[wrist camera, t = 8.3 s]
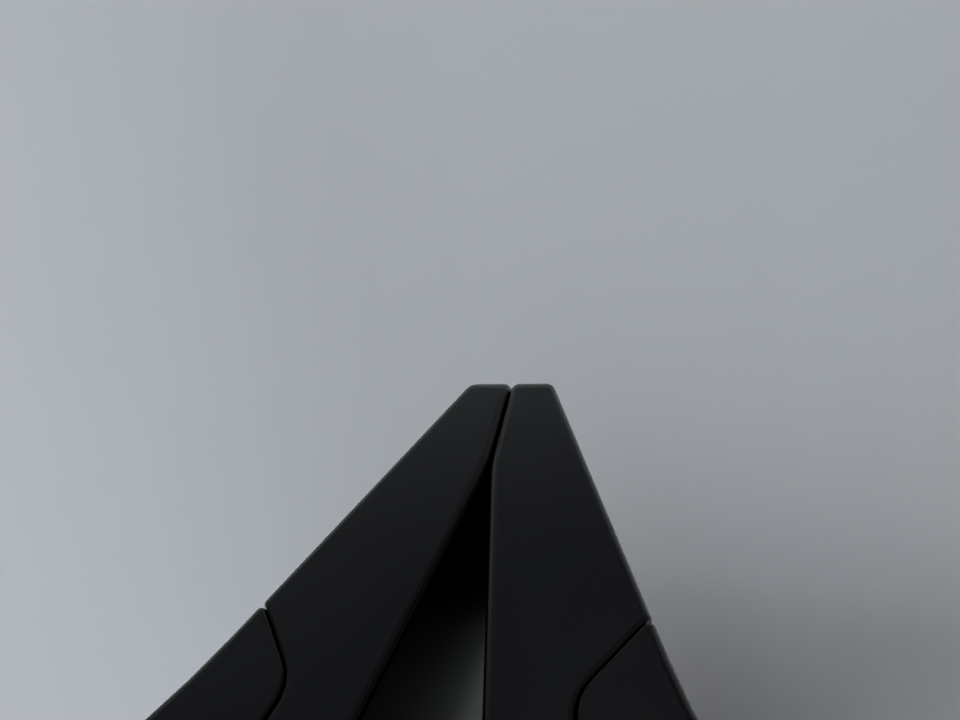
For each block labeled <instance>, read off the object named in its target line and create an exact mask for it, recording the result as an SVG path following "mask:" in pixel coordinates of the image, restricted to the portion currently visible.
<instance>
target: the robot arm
mask: <svg viewBox="0 0 960 720" xmlns="http://www.w3.org/2000/svg"><path fill="white" fill-rule="evenodd" d="M265 608H266V610H265V609H264V608H259V609H258V610H257V611H256V612H255V613H254V614H253V615H252V616H251V617H250V618H249V619H248V620H247V621H246V623H245V624H244V625H243V626H242V627H241V628H240V629H239V630H238V631H237V632H236V633H235V634H234V635H233V636H232V637H231V638H230V639H229V640H228V641H227V642H226V643H225V644H224V645H223V646H222V647H221V648H220V649H219V650H218V651H217V652H216V653H215V654H214V655H213V656H212V657H211V658H210V659H209V660H208V661H207V662H206V663H205V664H204V665H203V666H202V667H201V668H200V669H199V670H198V671H197V672H196V673H195V674H194V675H193V676H192V677H191V678H190V679H189V680H188V681H187V682H186V683H185V684H184V685H183V686H182V687H181V688H180V689H179V690H177V691H176V692H175V693H174V694H173V695H172V696H171V697H170V698H169V699H168V700H167V701H165V702H164V703H163V704H162V705H161V706H160V707H159V708H158V709H157V710H156V711H155V712H153V713H152V714H151V715H150V716H149V717H148V718H147V719H146V720H698V719H697V717H696V715H695V713H694V711H693V710H692V707H691V705H690V703H689V701H688V699H687V697H686V695H685V692H684V690H683V688H682V686H681V684H680V682H679V680H678V677H677V675H676V673H675V671H674V669H673V667H672V665H671V662H670V660H669V658H668V656H667V653H666V651H665V649H664V646H663V644H662V642H661V639H660V637H659V635H658V632H657V630H656V627H655V626H654V625H653V624H652V620H651V617H650V614H649V612H648V610H647V607H646V605H645V602H644V600H643V598H642V595H641V593H640V591H639V588H638V586H637V583H636V581H635V579H634V576H633V574H632V572H631V569H630V567H629V564H628V562H627V560H626V557H625V555H624V553H623V550H622V548H621V545H620V543H619V541H618V538H617V536H616V534H615V531H614V529H613V526H612V524H611V522H610V519H609V517H608V515H607V512H606V510H605V507H604V505H603V503H602V500H601V498H600V496H599V493H598V491H597V488H596V486H595V484H594V481H593V479H592V477H591V474H590V472H589V469H588V467H587V465H586V462H585V460H584V457H583V455H582V453H581V450H580V448H579V446H578V443H577V441H576V438H575V436H574V434H573V431H572V429H571V427H570V424H569V422H568V419H567V417H566V415H565V412H564V410H563V408H562V405H561V403H560V400H559V398H558V396H557V393H556V391H555V389H554V387H553V386H552V385H550V384H517V385H515V386H514V387H513V388H512V389H511V388H510V387H509V386H508V385H506V384H476V385H472V386H470V387H468V388H467V389H466V390H465V391H464V392H463V393H462V394H461V396H460V397H459V398H458V399H457V400H456V401H455V402H454V403H453V404H452V405H451V406H450V407H449V408H448V409H447V410H446V411H445V412H444V414H443V415H442V416H441V417H440V418H439V419H438V420H437V421H436V422H435V423H434V424H433V425H432V426H431V427H430V428H429V429H428V430H427V431H426V433H425V434H424V435H423V436H422V437H421V438H420V439H419V440H418V441H417V442H416V443H415V444H414V445H413V446H412V447H411V448H410V449H409V451H408V452H407V453H406V454H405V455H404V456H403V457H402V458H401V459H400V460H399V461H398V462H397V463H396V464H395V465H394V466H393V467H392V469H391V470H390V471H389V472H388V473H387V474H386V475H385V476H384V477H383V478H382V479H381V480H380V481H379V482H378V483H377V484H376V485H375V487H374V488H373V489H372V490H371V491H370V492H369V493H368V494H367V495H366V496H365V497H364V498H363V499H362V500H361V501H360V502H359V503H358V504H357V506H356V507H355V508H354V509H353V510H352V511H351V512H350V513H349V514H348V515H347V516H346V517H345V518H344V519H343V520H342V521H341V522H340V524H339V525H338V526H337V527H336V528H335V529H334V530H333V531H332V532H331V533H330V534H329V535H328V536H327V537H326V538H325V539H324V540H323V542H322V543H321V544H320V545H319V546H318V547H317V548H316V549H315V550H314V551H313V552H312V553H311V554H310V555H309V556H308V557H307V558H306V559H305V561H304V562H303V563H302V564H301V565H300V566H299V567H298V568H297V569H296V570H295V571H294V572H293V573H292V574H291V575H290V576H289V577H288V579H287V580H286V581H285V582H284V583H283V584H282V585H281V586H280V587H279V588H278V589H277V590H276V591H275V592H274V593H273V594H272V595H271V597H270V598H269V599H268V600H267V601H266V602H265Z"/></svg>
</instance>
